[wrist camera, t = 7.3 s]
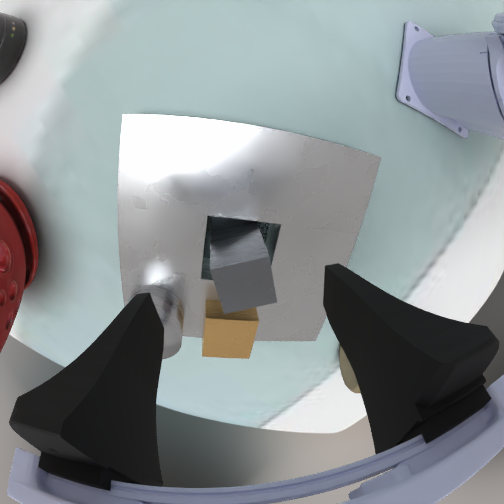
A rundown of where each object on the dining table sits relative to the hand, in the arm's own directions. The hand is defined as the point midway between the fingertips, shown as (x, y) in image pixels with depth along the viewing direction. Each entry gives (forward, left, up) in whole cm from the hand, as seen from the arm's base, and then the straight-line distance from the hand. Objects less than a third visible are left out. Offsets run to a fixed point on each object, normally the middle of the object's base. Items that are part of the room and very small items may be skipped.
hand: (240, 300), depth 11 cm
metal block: (-1, +1, -10) cm, 10 cm away
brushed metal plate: (-1, +2, -10) cm, 10 cm away
